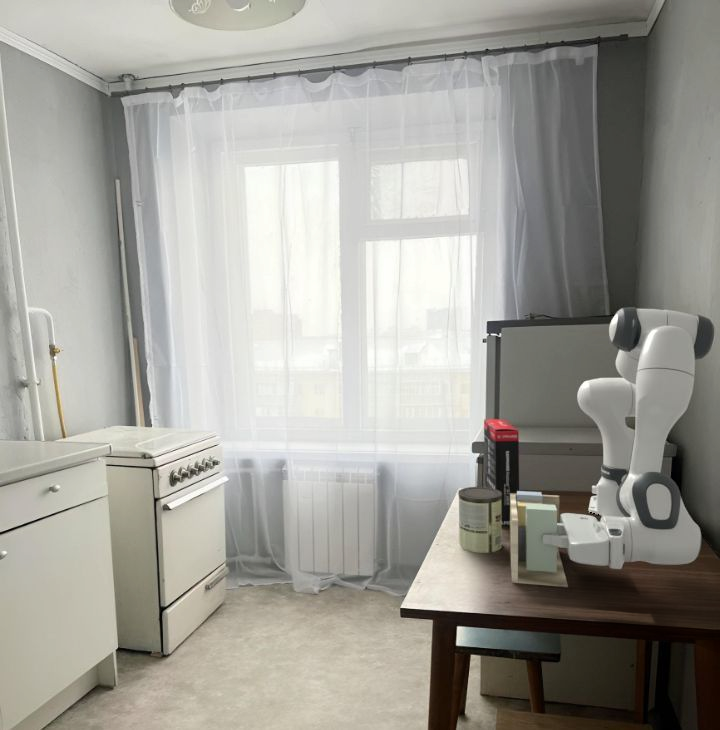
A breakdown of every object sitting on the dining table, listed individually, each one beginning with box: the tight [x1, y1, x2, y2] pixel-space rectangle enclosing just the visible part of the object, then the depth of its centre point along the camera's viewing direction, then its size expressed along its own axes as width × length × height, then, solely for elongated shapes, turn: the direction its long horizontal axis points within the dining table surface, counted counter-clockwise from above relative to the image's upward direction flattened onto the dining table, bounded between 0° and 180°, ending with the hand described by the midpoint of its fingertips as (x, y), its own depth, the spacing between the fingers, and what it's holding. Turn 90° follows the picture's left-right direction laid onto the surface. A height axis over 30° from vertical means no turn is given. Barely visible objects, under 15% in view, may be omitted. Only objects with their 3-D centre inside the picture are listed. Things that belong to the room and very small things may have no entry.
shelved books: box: [517, 490, 543, 526], centre depth 134 cm, size 7×6×14 cm
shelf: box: [509, 493, 569, 588], centre depth 129 cm, size 20×11×14 cm, turn 167°
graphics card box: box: [483, 418, 520, 527], centre depth 162 cm, size 17×7×27 cm, turn 179°
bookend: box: [518, 526, 526, 562], centre depth 132 cm, size 4×6×8 cm
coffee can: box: [457, 486, 503, 554], centre depth 141 cm, size 10×10×14 cm
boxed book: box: [526, 503, 557, 572], centre depth 123 cm, size 4×6×13 cm, turn 77°
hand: (541, 533), depth 123 cm, fingers closed on boxed book, 4 cm apart
